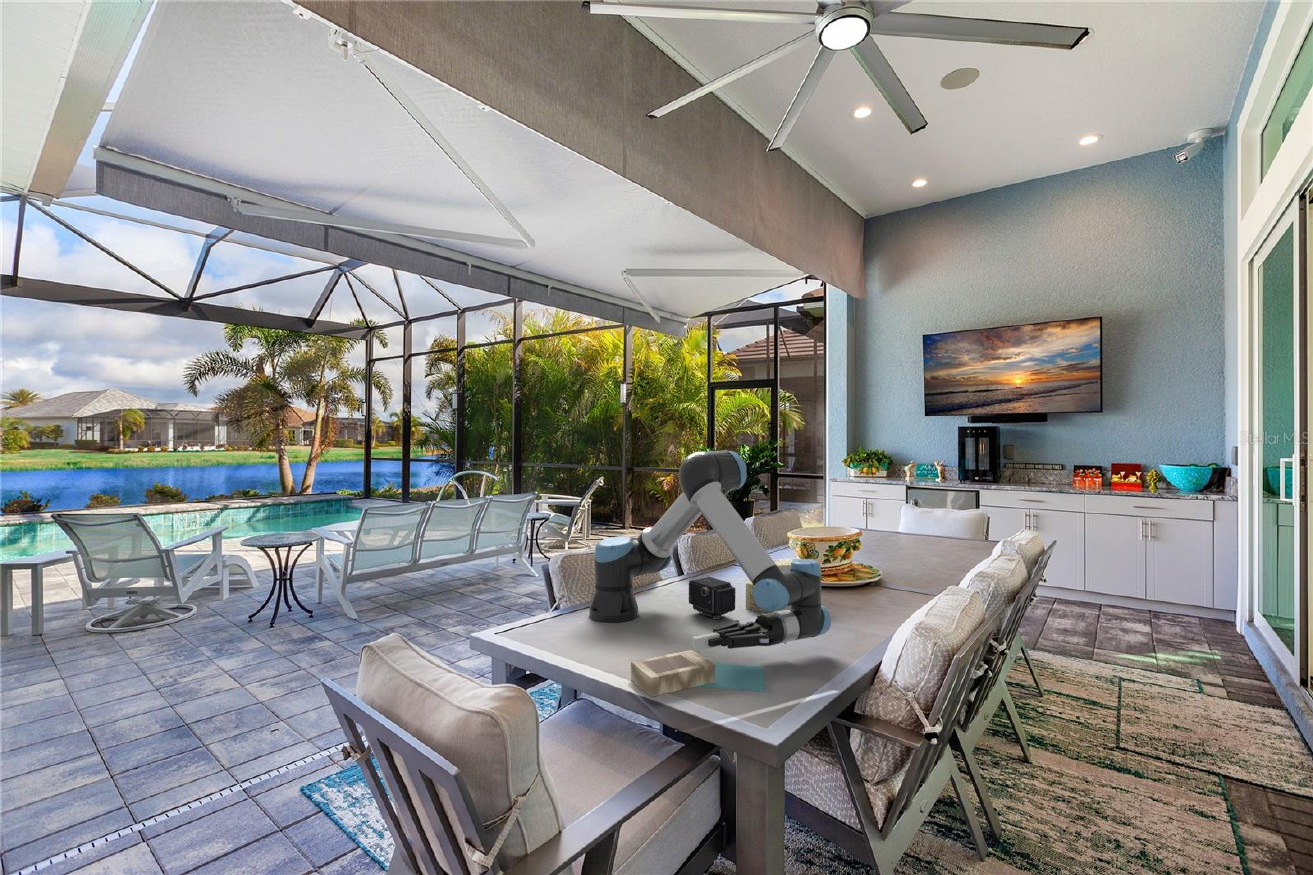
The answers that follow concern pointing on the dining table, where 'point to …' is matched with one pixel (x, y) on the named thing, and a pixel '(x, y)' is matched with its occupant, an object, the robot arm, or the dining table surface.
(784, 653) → the dining table surface
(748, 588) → the candy box
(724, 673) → the mat
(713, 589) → the camera
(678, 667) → the light brown rectangular block
